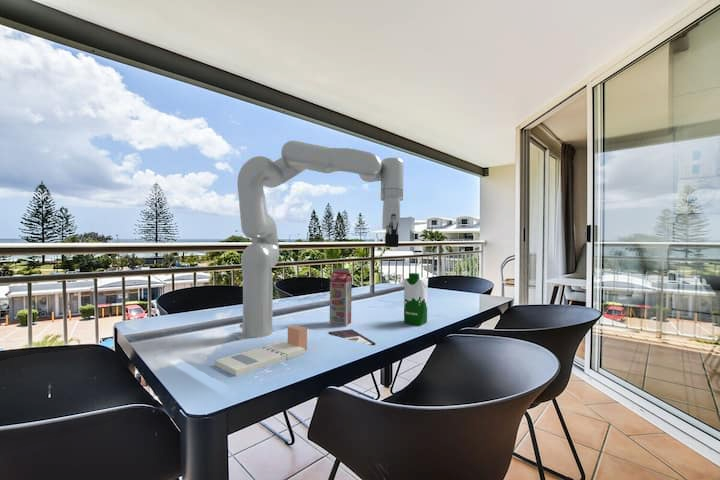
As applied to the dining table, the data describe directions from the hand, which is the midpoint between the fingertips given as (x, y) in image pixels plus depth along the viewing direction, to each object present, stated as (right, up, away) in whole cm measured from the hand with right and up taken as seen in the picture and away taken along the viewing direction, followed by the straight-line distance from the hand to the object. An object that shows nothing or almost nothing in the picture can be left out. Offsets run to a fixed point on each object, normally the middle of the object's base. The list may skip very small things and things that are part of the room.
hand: (391, 246), depth 111 cm
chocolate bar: (-14, -31, 0) cm, 34 cm away
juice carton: (-18, -31, +19) cm, 41 cm away
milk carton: (+12, -31, +23) cm, 41 cm away
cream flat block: (-38, -29, -26) cm, 55 cm away
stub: (-31, -29, -17) cm, 46 cm away
